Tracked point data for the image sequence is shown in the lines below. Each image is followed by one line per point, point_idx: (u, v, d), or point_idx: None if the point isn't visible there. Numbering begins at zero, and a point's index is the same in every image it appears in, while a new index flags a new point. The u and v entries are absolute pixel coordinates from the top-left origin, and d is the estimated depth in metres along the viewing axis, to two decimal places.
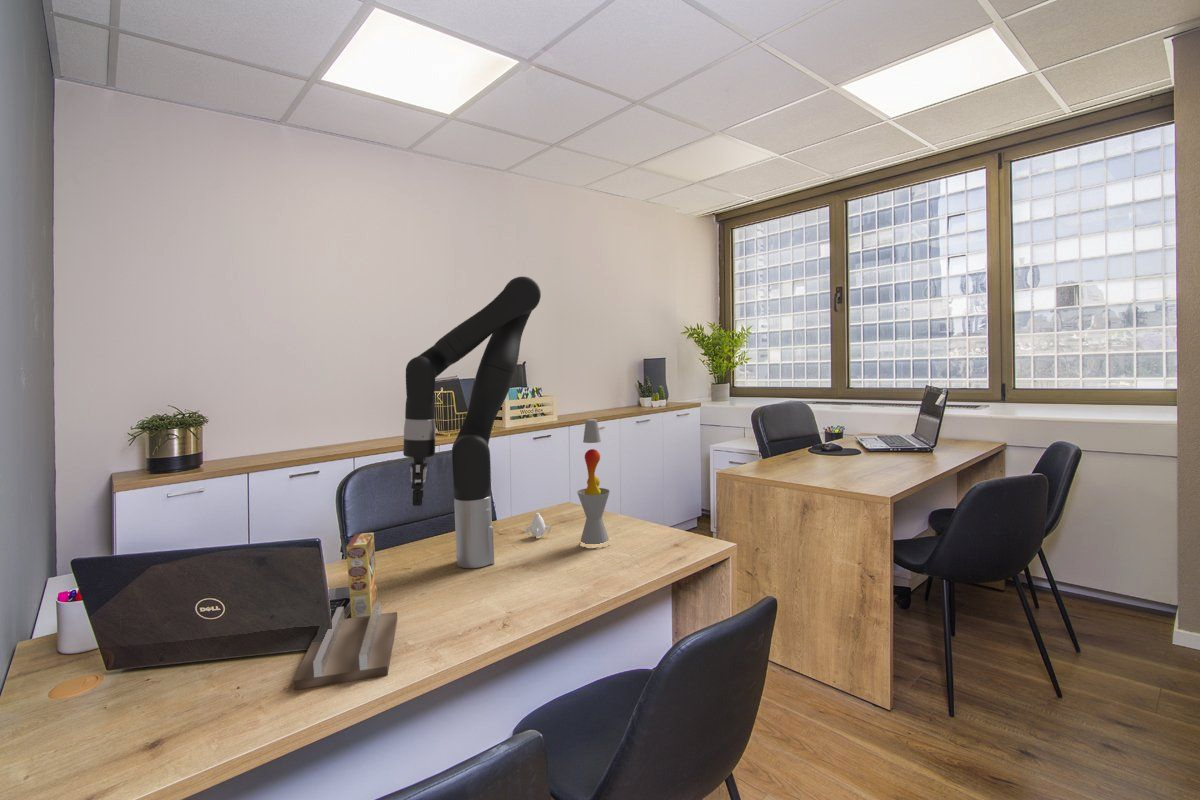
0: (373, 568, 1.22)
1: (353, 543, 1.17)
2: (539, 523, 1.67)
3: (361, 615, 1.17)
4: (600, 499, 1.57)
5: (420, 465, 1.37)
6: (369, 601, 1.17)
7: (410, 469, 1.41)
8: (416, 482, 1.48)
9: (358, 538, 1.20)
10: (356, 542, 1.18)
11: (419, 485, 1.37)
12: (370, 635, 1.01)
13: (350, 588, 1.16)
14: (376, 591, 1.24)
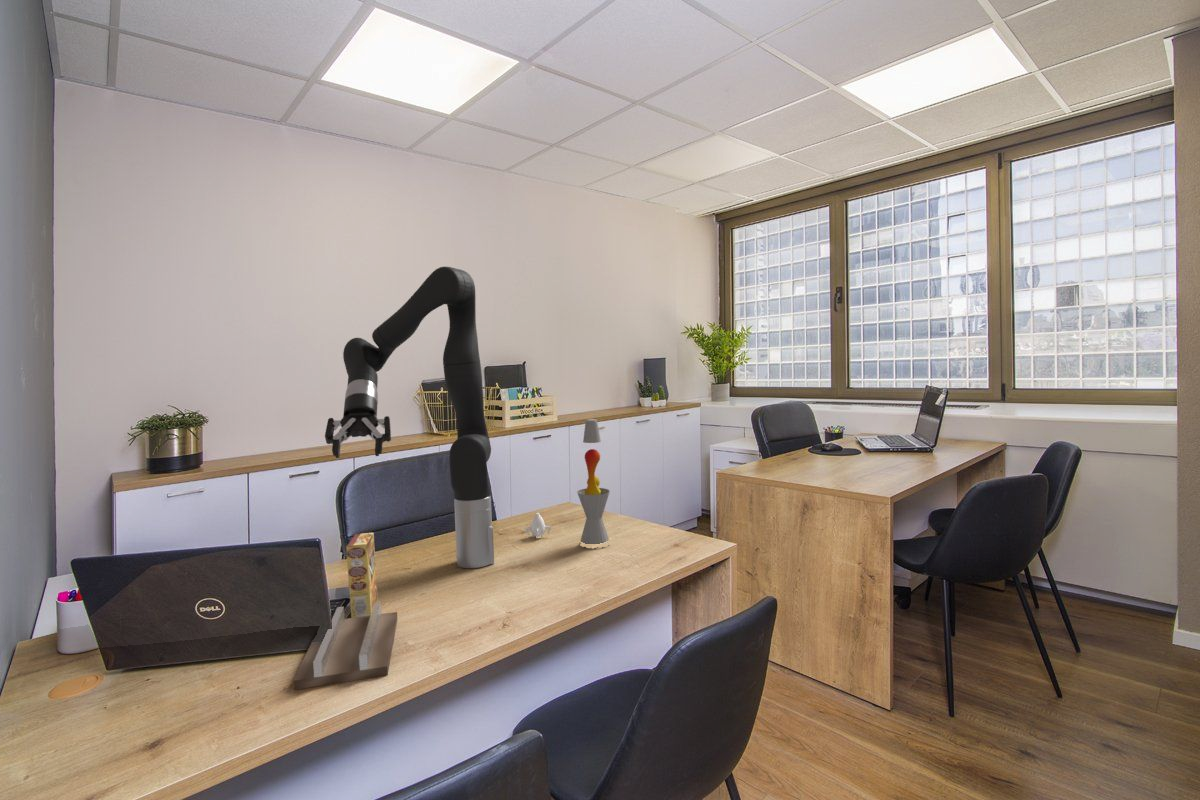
0: (373, 568, 1.21)
1: (353, 543, 1.17)
2: (539, 523, 1.67)
3: (361, 615, 1.17)
4: (600, 499, 1.57)
5: None
6: (369, 601, 1.17)
7: None
8: None
9: (358, 538, 1.20)
10: (356, 542, 1.18)
11: None
12: (370, 635, 1.01)
13: (350, 588, 1.16)
14: (376, 591, 1.24)
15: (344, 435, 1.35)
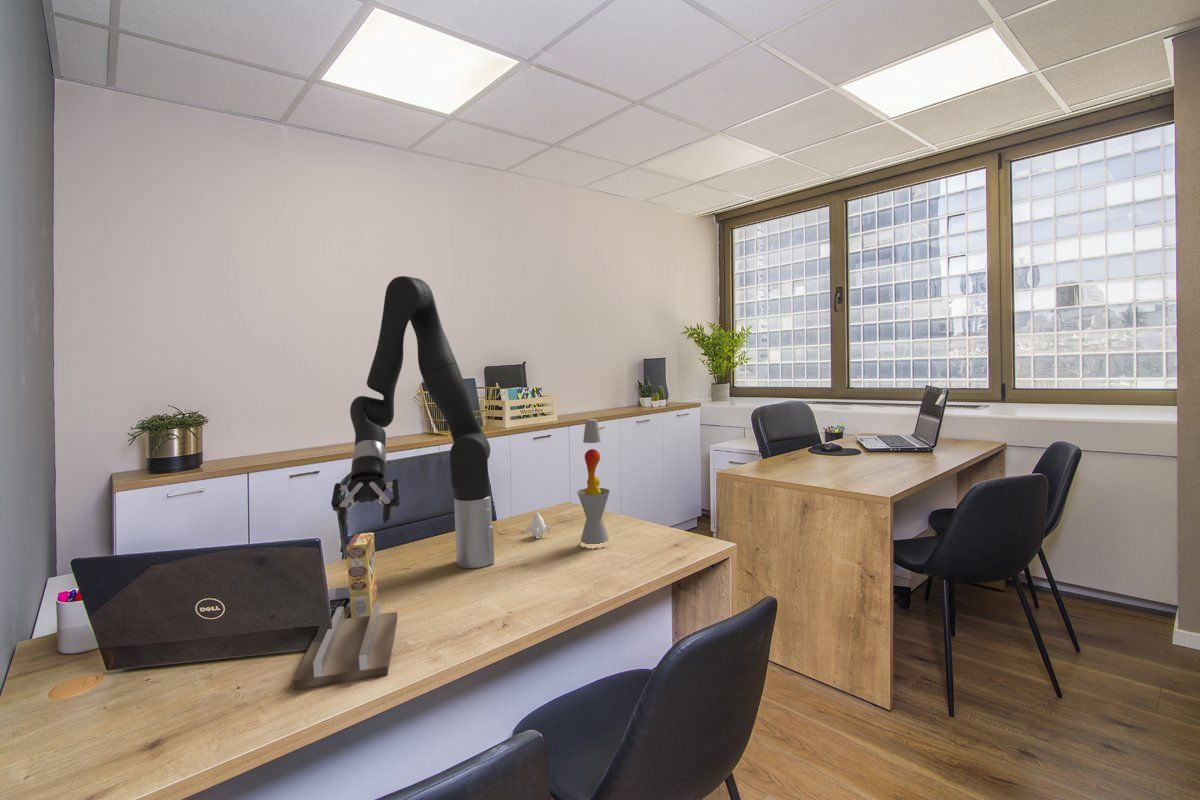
0: (373, 568, 1.21)
1: (353, 543, 1.17)
2: (539, 523, 1.67)
3: (361, 615, 1.17)
4: (600, 499, 1.57)
5: None
6: (369, 601, 1.17)
7: None
8: None
9: (358, 538, 1.20)
10: (356, 542, 1.18)
11: None
12: (370, 635, 1.01)
13: (350, 588, 1.16)
14: (376, 591, 1.24)
15: (351, 501, 1.30)
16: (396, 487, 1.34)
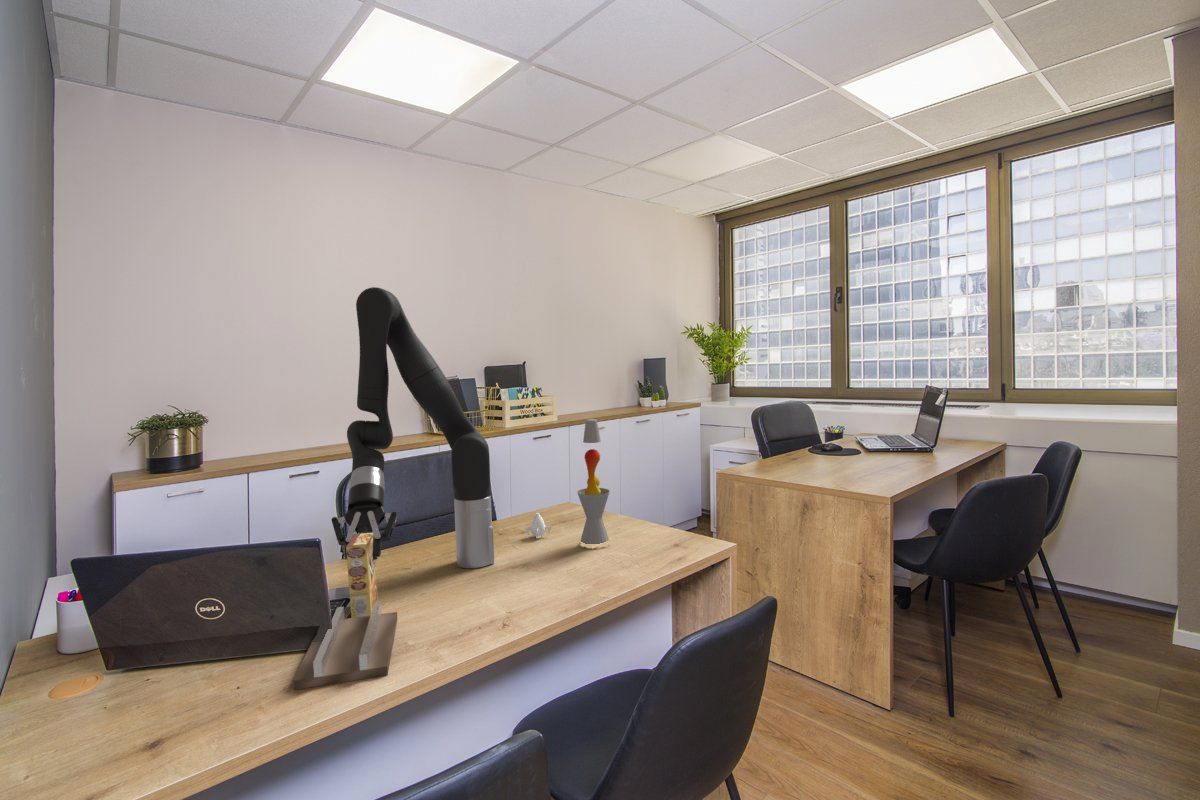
0: (373, 568, 1.21)
1: (353, 543, 1.17)
2: (539, 523, 1.67)
3: (361, 615, 1.17)
4: (600, 499, 1.57)
5: None
6: (369, 601, 1.17)
7: None
8: None
9: (358, 538, 1.20)
10: (355, 542, 1.18)
11: None
12: (370, 635, 1.01)
13: (350, 588, 1.16)
14: (376, 591, 1.24)
15: (355, 533, 1.25)
16: (392, 521, 1.27)
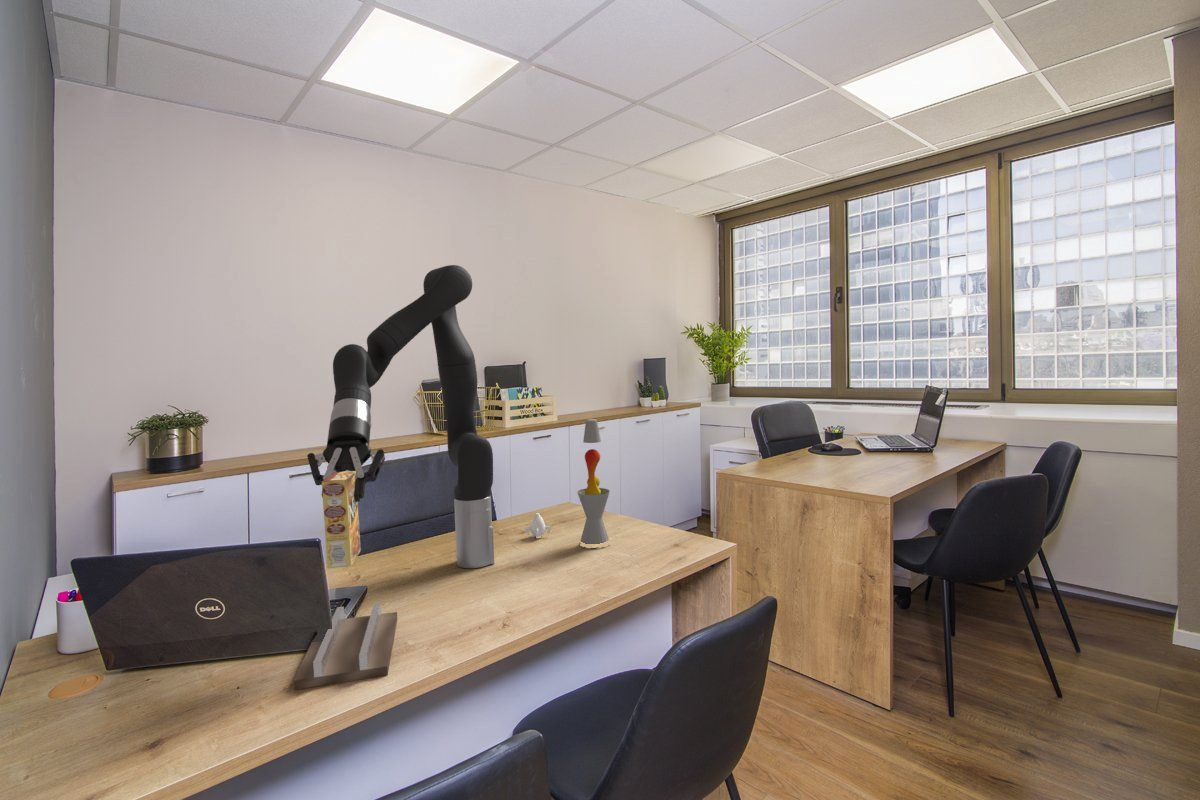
0: (354, 511, 1.04)
1: (330, 479, 0.99)
2: (539, 523, 1.67)
3: (339, 564, 0.99)
4: (600, 499, 1.57)
5: None
6: (348, 547, 0.99)
7: None
8: None
9: (337, 475, 1.02)
10: (333, 477, 1.00)
11: None
12: (370, 635, 1.01)
13: (326, 531, 0.98)
14: (358, 539, 1.06)
15: None
16: (378, 459, 1.09)
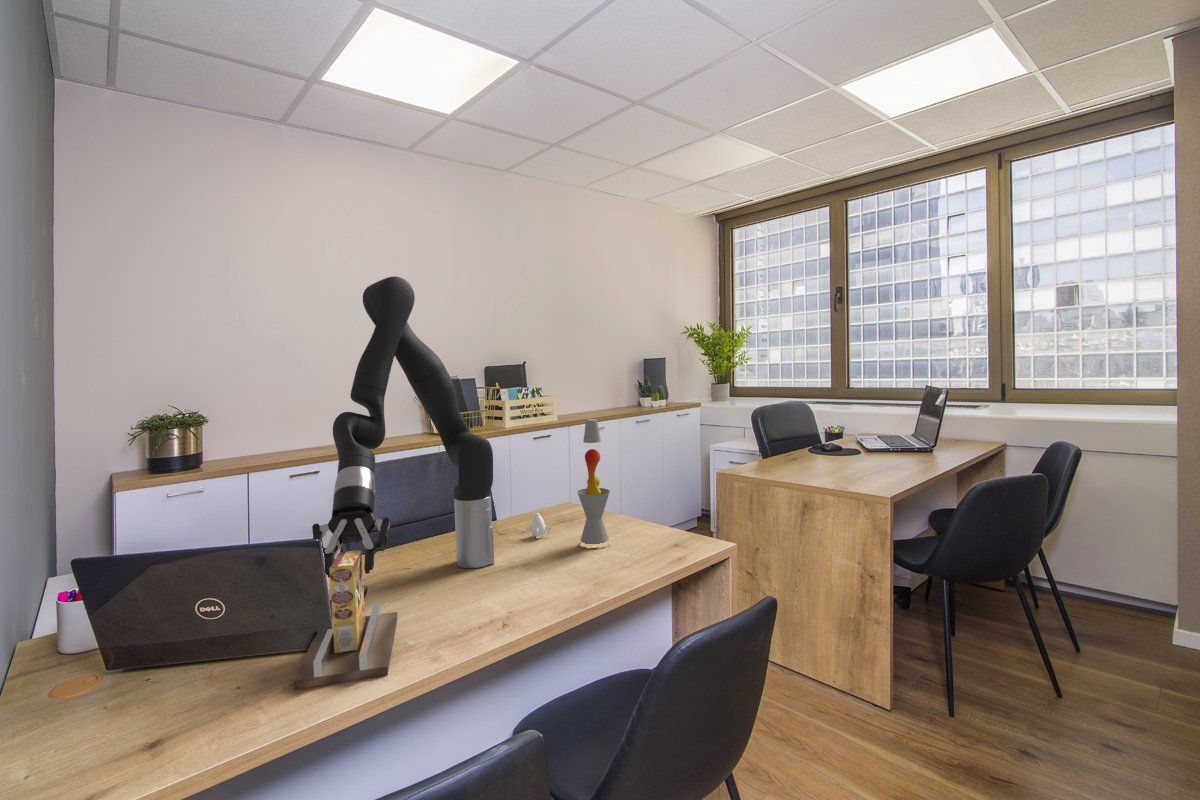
0: (361, 592, 1.04)
1: (337, 564, 1.00)
2: (539, 523, 1.67)
3: (346, 648, 1.00)
4: (600, 499, 1.57)
5: None
6: (356, 632, 1.00)
7: None
8: None
9: (343, 557, 1.03)
10: (340, 562, 1.01)
11: None
12: (370, 635, 1.01)
13: (333, 617, 0.99)
14: (364, 618, 1.07)
15: (337, 544, 1.07)
16: (385, 528, 1.10)
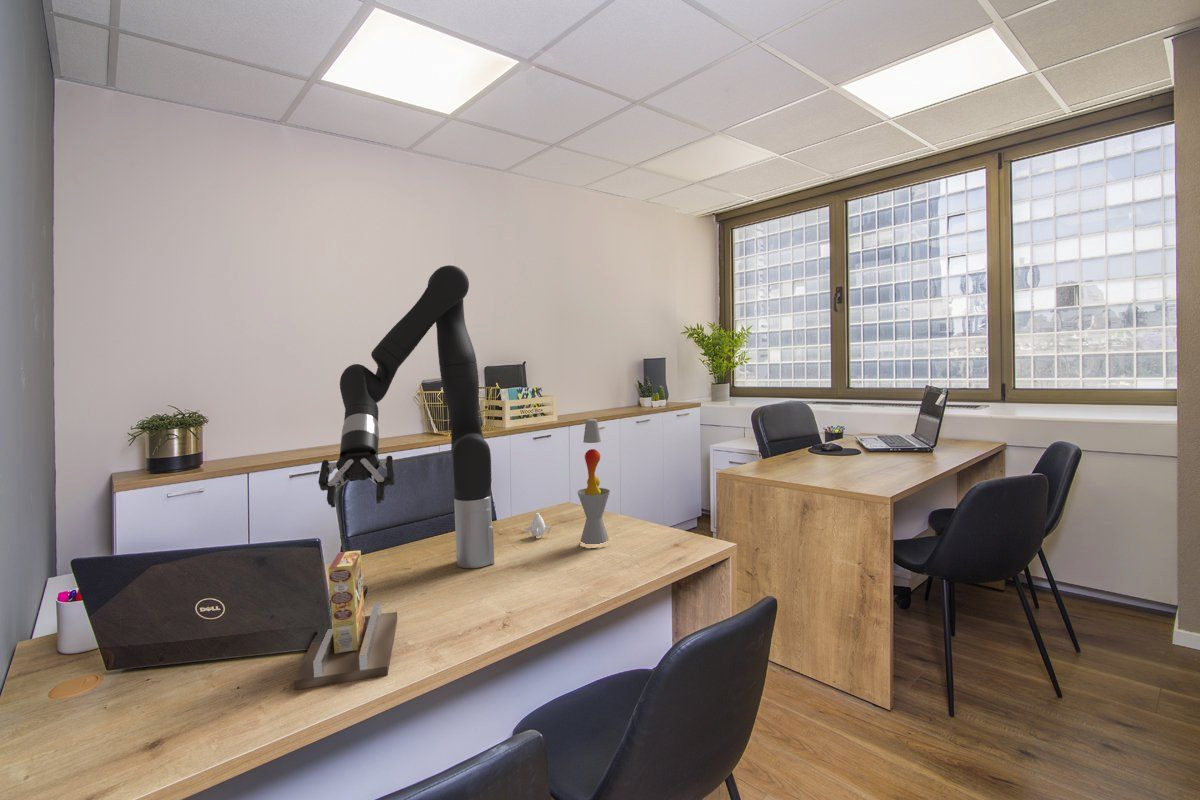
0: (360, 592, 1.04)
1: (336, 564, 1.00)
2: (539, 523, 1.67)
3: (346, 648, 1.00)
4: (600, 499, 1.57)
5: None
6: (355, 632, 1.00)
7: None
8: None
9: (342, 558, 1.03)
10: (339, 562, 1.01)
11: None
12: (370, 635, 1.01)
13: (333, 617, 0.99)
14: (364, 618, 1.07)
15: (341, 480, 1.18)
16: (390, 464, 1.21)
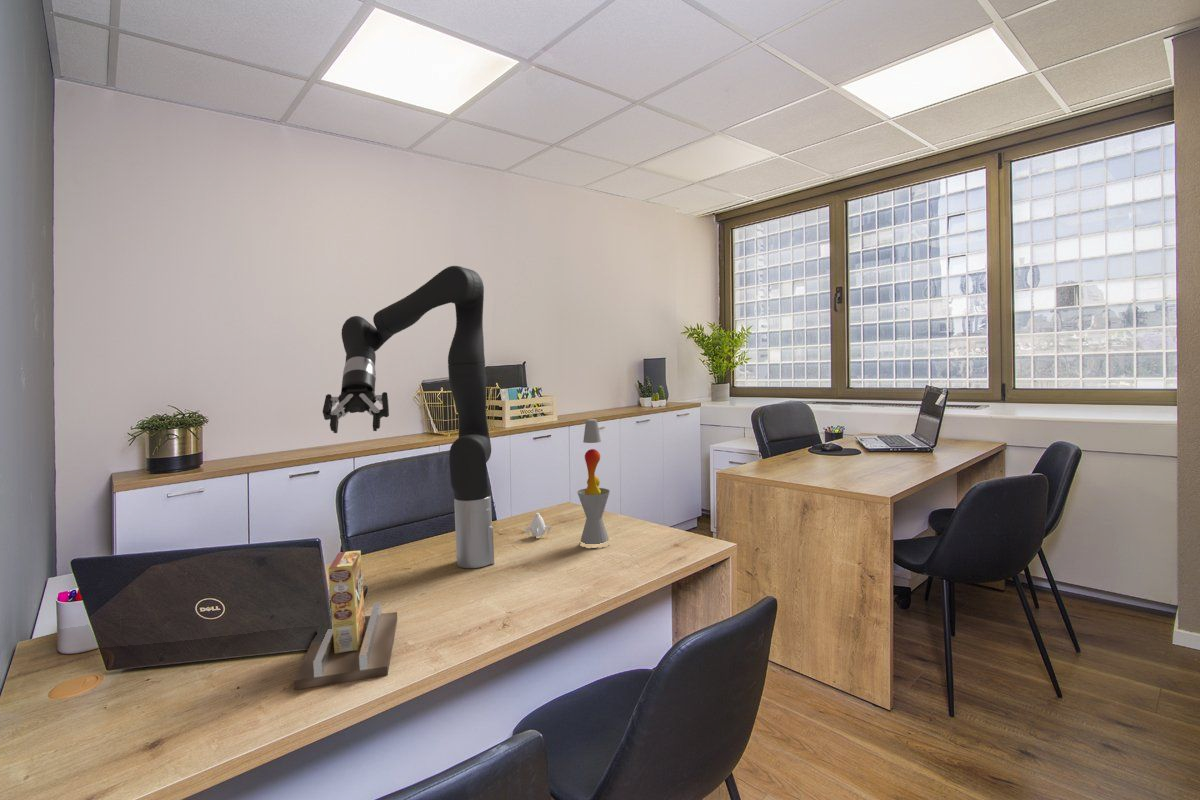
0: (360, 592, 1.04)
1: (336, 564, 1.00)
2: (539, 523, 1.67)
3: (346, 648, 1.00)
4: (600, 499, 1.57)
5: None
6: (355, 632, 1.00)
7: None
8: None
9: (342, 558, 1.03)
10: (339, 562, 1.01)
11: None
12: (370, 635, 1.01)
13: (333, 617, 0.99)
14: (364, 618, 1.07)
15: (342, 411, 1.35)
16: (385, 399, 1.38)
